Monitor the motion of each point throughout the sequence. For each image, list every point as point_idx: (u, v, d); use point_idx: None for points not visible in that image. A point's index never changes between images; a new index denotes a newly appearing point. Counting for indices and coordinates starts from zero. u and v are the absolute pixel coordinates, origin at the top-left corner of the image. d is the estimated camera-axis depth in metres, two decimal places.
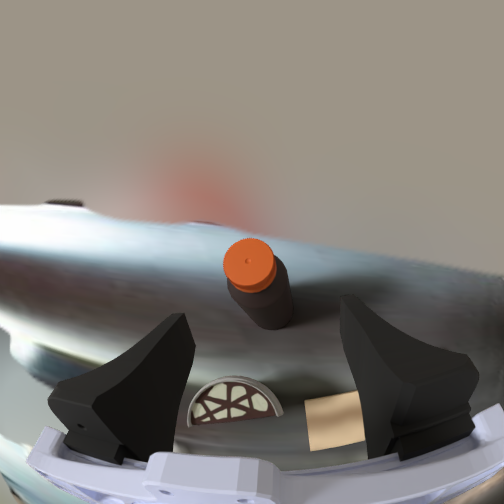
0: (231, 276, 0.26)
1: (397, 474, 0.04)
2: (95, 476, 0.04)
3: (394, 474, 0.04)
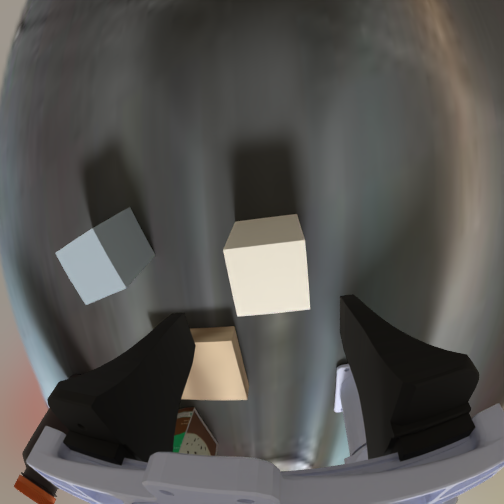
0: None
1: (397, 474, 0.04)
2: (95, 476, 0.04)
3: (394, 473, 0.04)
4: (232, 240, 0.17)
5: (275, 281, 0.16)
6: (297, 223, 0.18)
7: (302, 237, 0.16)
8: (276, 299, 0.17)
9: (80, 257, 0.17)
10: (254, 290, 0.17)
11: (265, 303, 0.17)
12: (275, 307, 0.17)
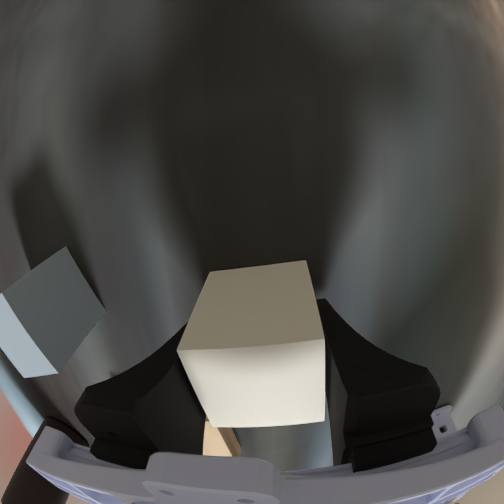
0: None
1: (397, 474, 0.04)
2: (95, 476, 0.04)
3: (394, 473, 0.04)
4: (196, 324, 0.09)
5: (270, 394, 0.09)
6: (308, 286, 0.11)
7: (320, 329, 0.08)
8: (272, 412, 0.09)
9: (1, 326, 0.09)
10: (234, 403, 0.09)
11: (254, 416, 0.09)
12: (269, 420, 0.10)
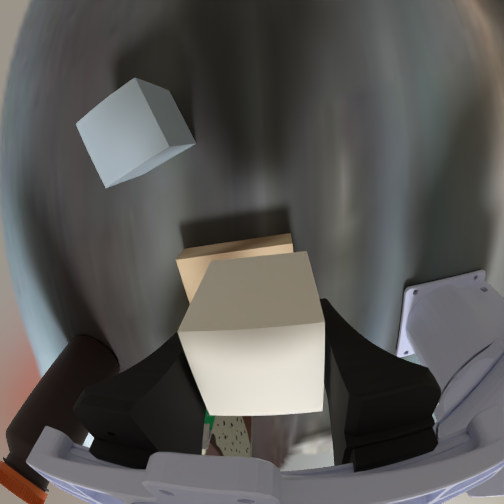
0: None
1: (397, 474, 0.04)
2: (95, 476, 0.04)
3: (394, 473, 0.04)
4: (197, 308, 0.10)
5: (269, 380, 0.09)
6: (309, 274, 0.11)
7: (320, 314, 0.08)
8: (270, 400, 0.09)
9: (109, 119, 0.13)
10: (233, 389, 0.09)
11: (252, 404, 0.10)
12: (267, 409, 0.10)
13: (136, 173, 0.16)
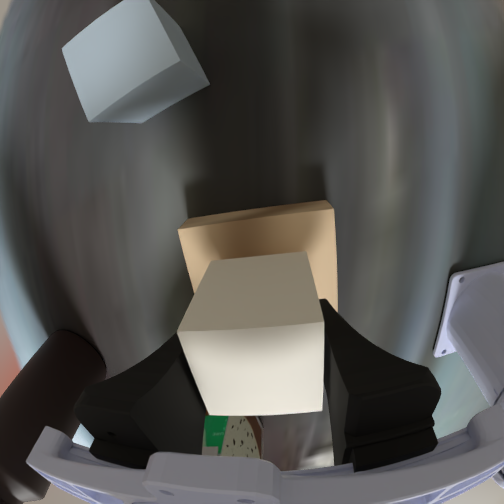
0: None
1: (397, 474, 0.04)
2: (95, 476, 0.04)
3: (394, 474, 0.04)
4: (196, 307, 0.10)
5: (268, 379, 0.09)
6: (308, 274, 0.11)
7: (319, 313, 0.08)
8: (269, 400, 0.09)
9: (104, 36, 0.08)
10: (232, 389, 0.09)
11: (252, 404, 0.10)
12: (267, 409, 0.10)
13: (131, 111, 0.11)
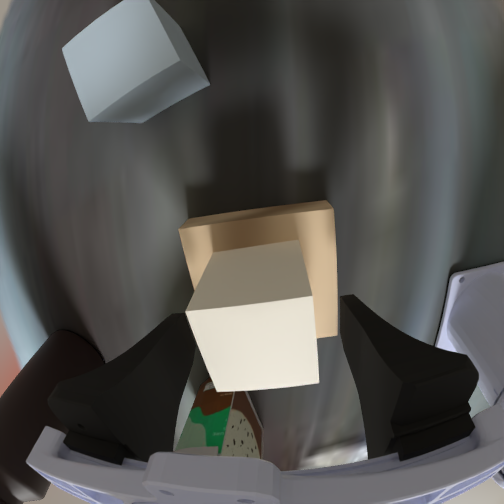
0: None
1: (397, 474, 0.04)
2: (95, 476, 0.04)
3: (394, 473, 0.04)
4: (202, 291, 0.11)
5: (267, 353, 0.10)
6: (300, 258, 0.12)
7: (308, 289, 0.10)
8: (270, 373, 0.11)
9: (104, 36, 0.08)
10: (236, 363, 0.11)
11: (254, 378, 0.11)
12: (269, 382, 0.11)
13: (131, 111, 0.11)
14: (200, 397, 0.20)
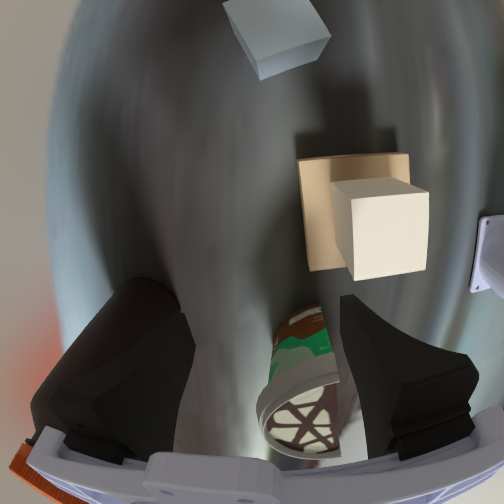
0: None
1: (397, 474, 0.04)
2: (95, 476, 0.04)
3: (394, 474, 0.04)
4: (350, 193, 0.14)
5: (399, 237, 0.14)
6: (403, 182, 0.15)
7: (423, 190, 0.13)
8: (397, 258, 0.14)
9: (266, 4, 0.11)
10: (377, 248, 0.14)
11: (385, 263, 0.14)
12: (394, 268, 0.14)
13: (272, 65, 0.15)
14: (287, 330, 0.23)
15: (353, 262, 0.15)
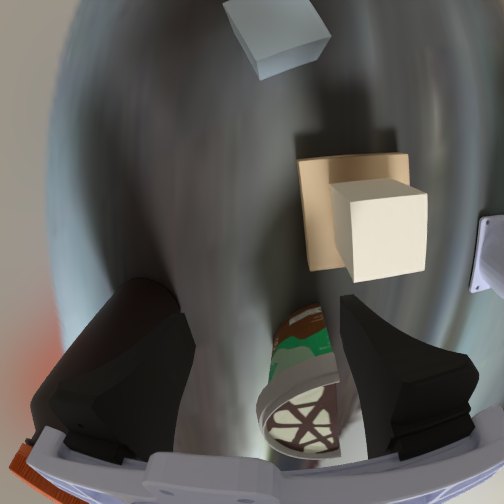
0: None
1: (397, 474, 0.04)
2: (95, 476, 0.04)
3: (394, 474, 0.04)
4: (349, 195, 0.14)
5: (398, 239, 0.14)
6: (401, 183, 0.16)
7: (422, 192, 0.13)
8: (396, 259, 0.14)
9: (267, 4, 0.11)
10: (376, 250, 0.14)
11: (385, 265, 0.14)
12: (393, 269, 0.14)
13: (272, 65, 0.15)
14: (287, 330, 0.23)
15: (352, 264, 0.15)
